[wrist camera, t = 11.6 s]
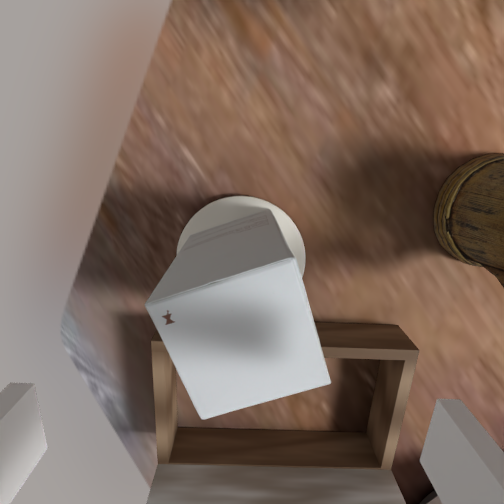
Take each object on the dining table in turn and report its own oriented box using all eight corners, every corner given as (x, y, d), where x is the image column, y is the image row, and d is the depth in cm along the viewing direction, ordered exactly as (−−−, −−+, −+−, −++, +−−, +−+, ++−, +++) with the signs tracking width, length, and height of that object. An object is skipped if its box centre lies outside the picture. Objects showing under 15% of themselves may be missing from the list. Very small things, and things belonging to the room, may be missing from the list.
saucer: (176, 192, 26) (174, 193, 25) (310, 198, 26) (311, 199, 26) (179, 312, 30) (177, 316, 29) (298, 316, 30) (299, 321, 29)
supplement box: (218, 309, 29) (196, 425, 17) (188, 233, 26) (137, 302, 14) (297, 286, 28) (334, 388, 16) (273, 206, 26) (295, 254, 14)
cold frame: (163, 316, 30) (34, 569, 12) (397, 325, 30) (616, 579, 12) (168, 435, 34) (78, 755, 16) (373, 441, 34) (509, 756, 17)
